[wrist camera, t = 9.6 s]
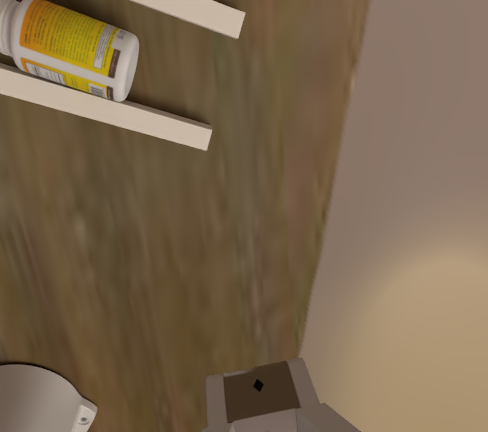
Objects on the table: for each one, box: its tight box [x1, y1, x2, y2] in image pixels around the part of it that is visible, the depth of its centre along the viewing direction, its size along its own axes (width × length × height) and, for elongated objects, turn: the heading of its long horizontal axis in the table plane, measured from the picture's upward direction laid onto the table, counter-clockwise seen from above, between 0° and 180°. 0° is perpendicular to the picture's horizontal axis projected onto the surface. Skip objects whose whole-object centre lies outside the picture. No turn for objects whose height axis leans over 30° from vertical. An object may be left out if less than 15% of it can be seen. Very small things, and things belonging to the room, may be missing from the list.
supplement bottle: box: [0, 0, 139, 102], centre depth 29 cm, size 6×6×10 cm
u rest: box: [0, 0, 245, 151], centre depth 30 cm, size 12×22×3 cm, turn 72°
